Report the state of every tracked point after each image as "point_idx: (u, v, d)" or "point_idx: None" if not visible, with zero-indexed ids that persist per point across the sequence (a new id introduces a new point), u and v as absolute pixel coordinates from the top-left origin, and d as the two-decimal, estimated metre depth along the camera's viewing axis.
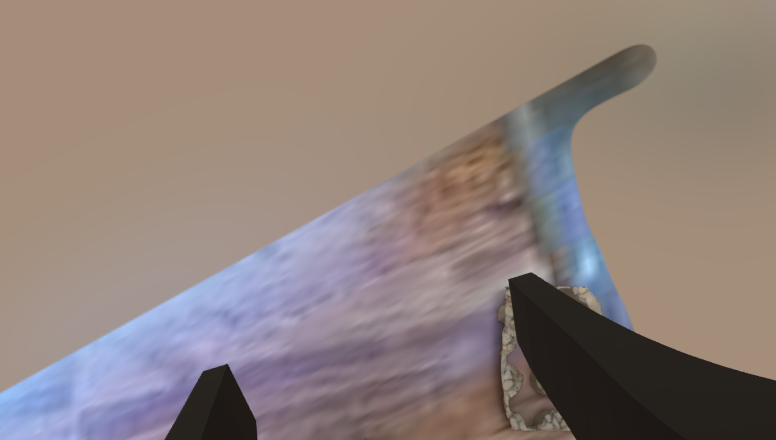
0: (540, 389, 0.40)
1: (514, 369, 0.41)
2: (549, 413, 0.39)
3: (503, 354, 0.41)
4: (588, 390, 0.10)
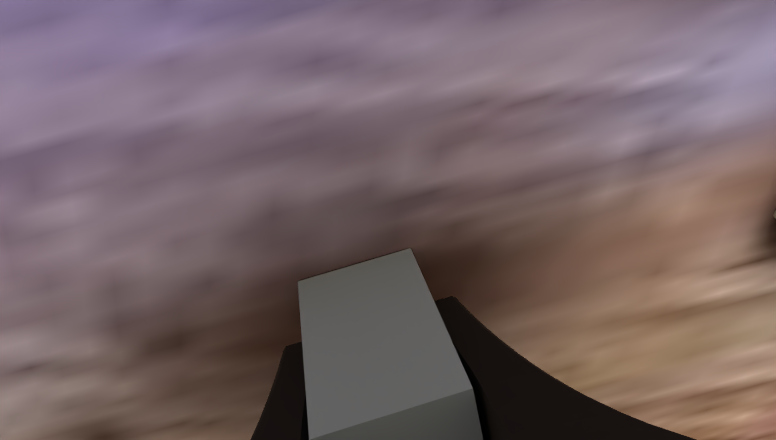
0: None
1: None
2: None
3: None
4: (487, 422, 0.10)
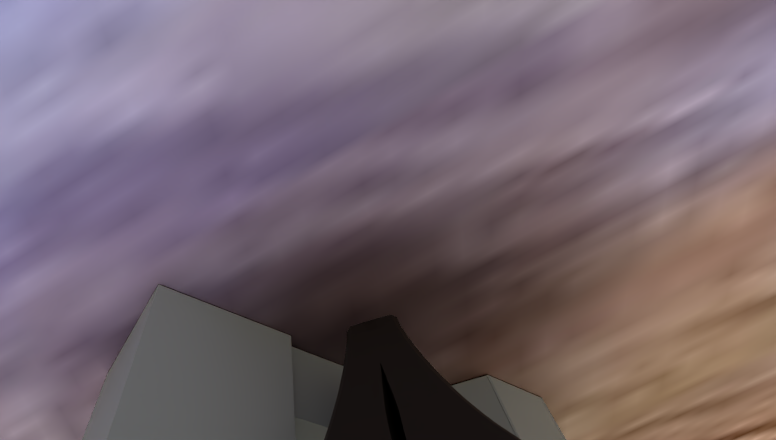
0: None
1: None
2: None
3: None
4: None
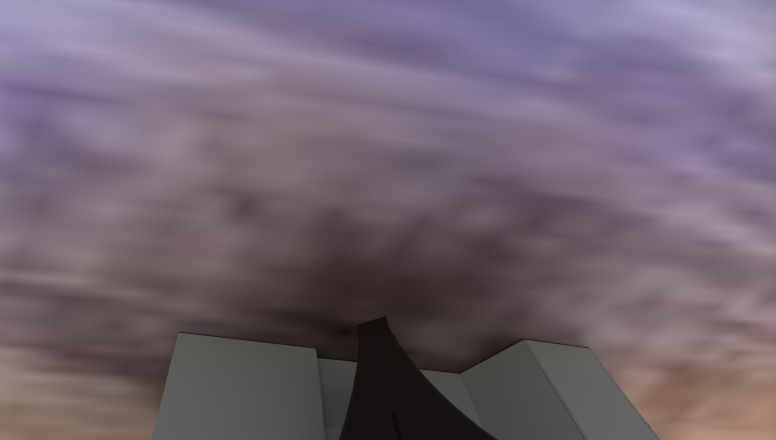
0: None
1: None
2: None
3: None
4: None
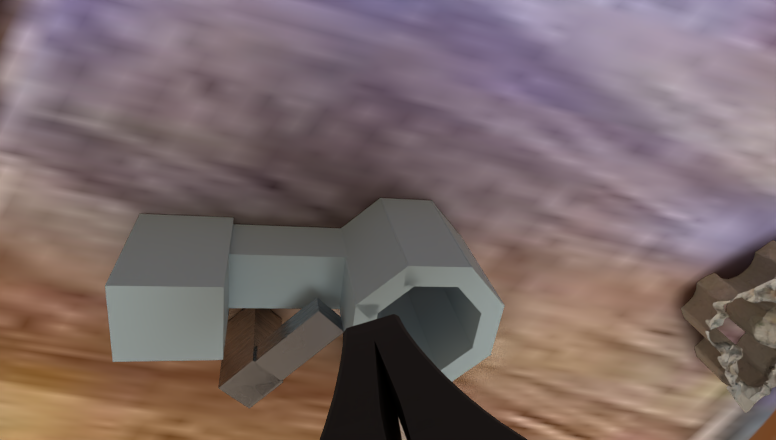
0: (758, 320, 0.28)
1: None
2: (734, 346, 0.28)
3: None
4: None
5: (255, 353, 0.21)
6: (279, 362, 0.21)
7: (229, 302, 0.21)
